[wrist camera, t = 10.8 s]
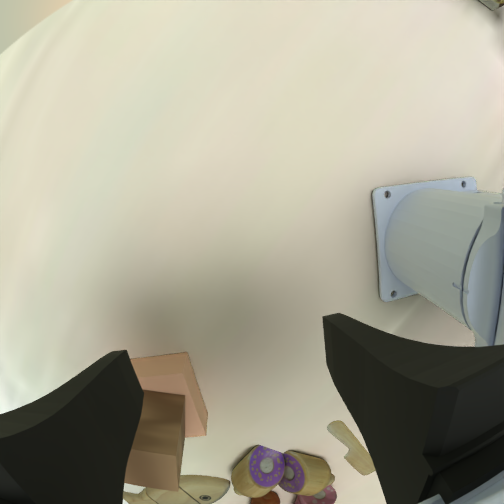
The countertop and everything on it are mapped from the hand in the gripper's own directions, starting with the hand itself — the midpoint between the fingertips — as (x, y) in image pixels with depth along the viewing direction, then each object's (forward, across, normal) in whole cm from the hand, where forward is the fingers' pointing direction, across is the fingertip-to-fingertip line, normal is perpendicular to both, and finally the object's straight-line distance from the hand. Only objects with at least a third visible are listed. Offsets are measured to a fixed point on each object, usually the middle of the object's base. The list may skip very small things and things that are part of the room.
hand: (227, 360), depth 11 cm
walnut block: (+7, +7, +8) cm, 13 cm away
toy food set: (+11, +3, +25) cm, 28 cm away
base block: (+10, +7, +8) cm, 15 cm away
